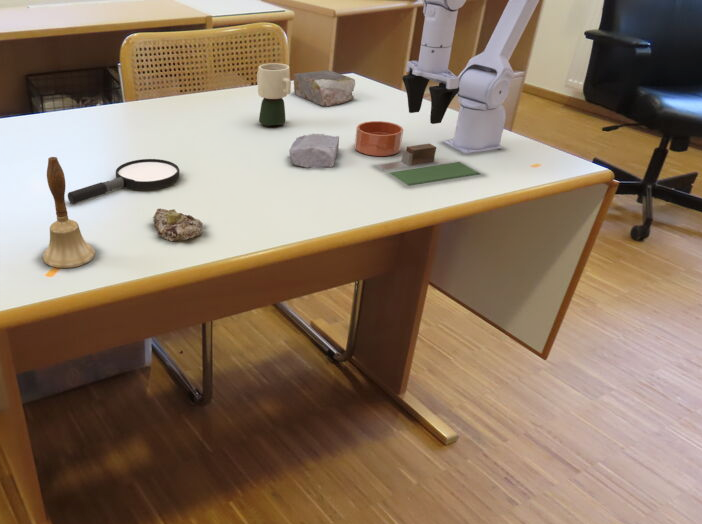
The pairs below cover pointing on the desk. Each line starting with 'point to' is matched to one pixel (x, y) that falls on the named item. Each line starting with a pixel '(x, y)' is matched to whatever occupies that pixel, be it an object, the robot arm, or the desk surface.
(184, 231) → the mineral rock
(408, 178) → the green flat rectangular slab
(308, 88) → the geological specimen
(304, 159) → the stone block
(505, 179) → the desk surface
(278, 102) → the character mug
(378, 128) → the bowl
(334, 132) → the desk surface
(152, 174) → the magnifying glass
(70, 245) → the hand bell
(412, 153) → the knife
